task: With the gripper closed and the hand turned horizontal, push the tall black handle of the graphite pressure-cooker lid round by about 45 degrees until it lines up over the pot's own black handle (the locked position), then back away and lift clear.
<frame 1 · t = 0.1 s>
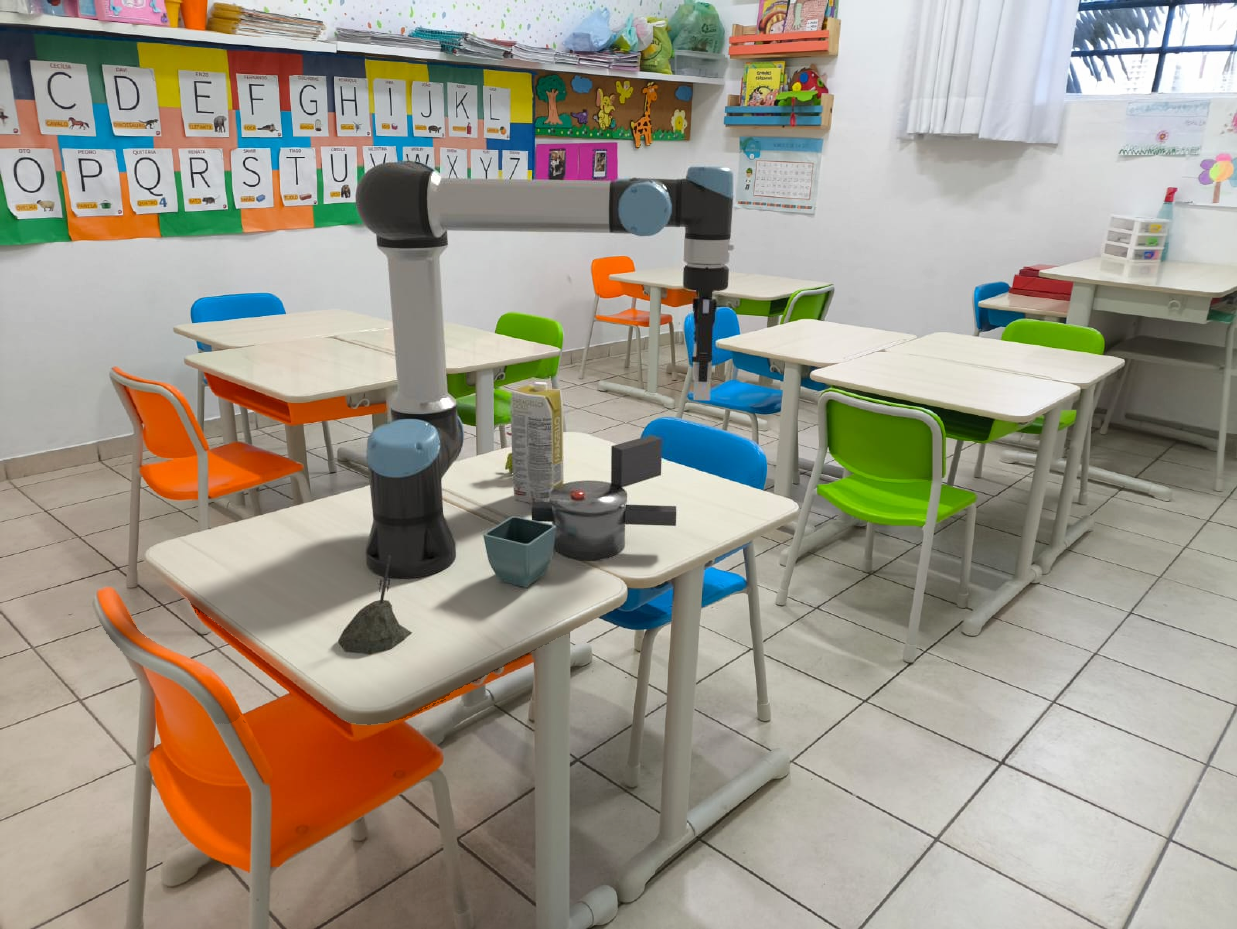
hand: (700, 389, 152), 28 cm above the table, tool pointing down, fingers open, 13 cm apart
pot: (588, 544, 157), on the table
juice carton: (538, 499, 177), on the table
bird rattle: (524, 474, 191), on the table
sword in stone: (376, 641, 127), on the table
flower pot: (521, 580, 145), on the table
lid: (609, 471, 156), point 13 cm above the table, hinge at 45.0°
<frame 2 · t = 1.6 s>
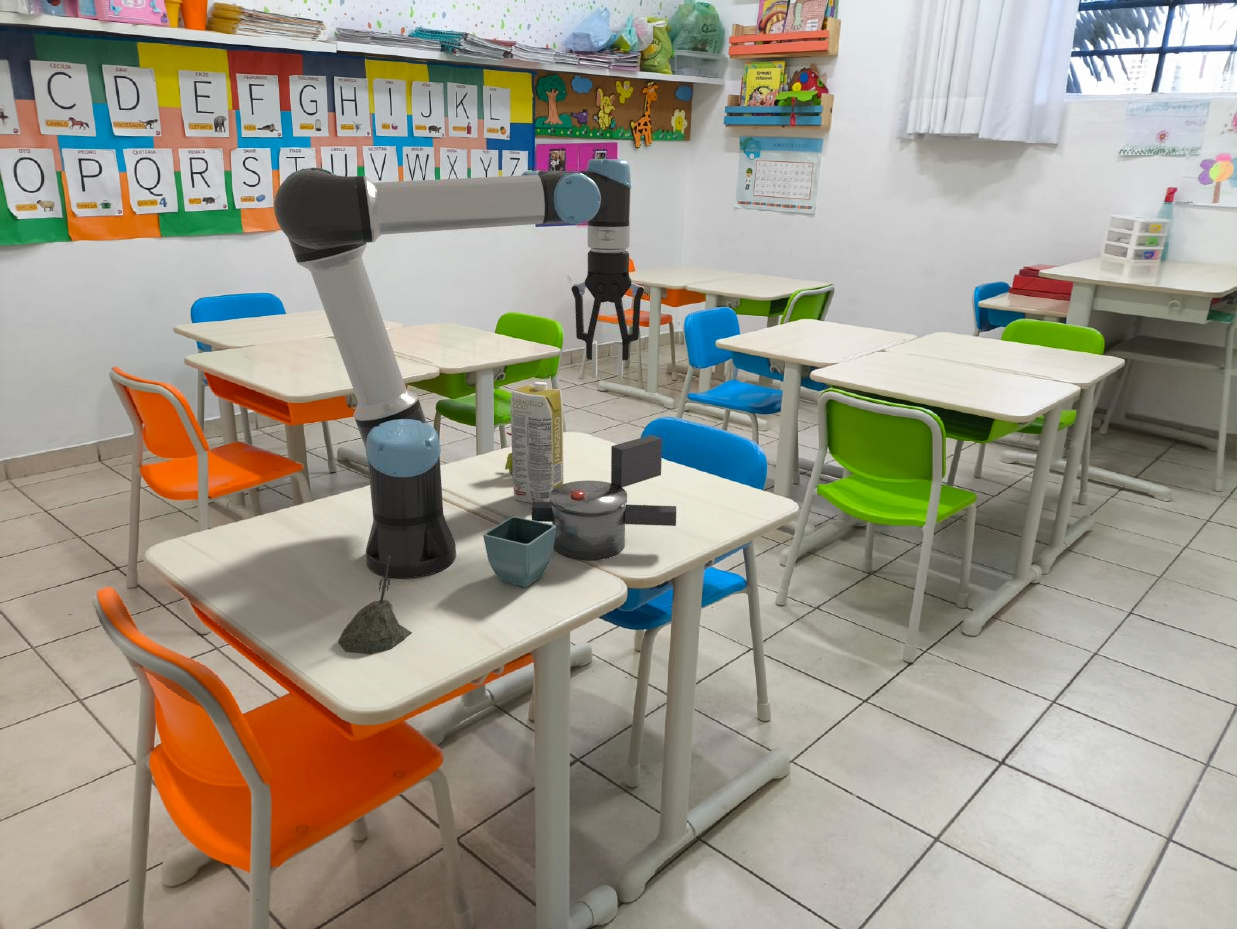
hand: (607, 376, 165), 27 cm above the table, tool pointing down, fingers open, 4 cm apart
nothing on the table moved.
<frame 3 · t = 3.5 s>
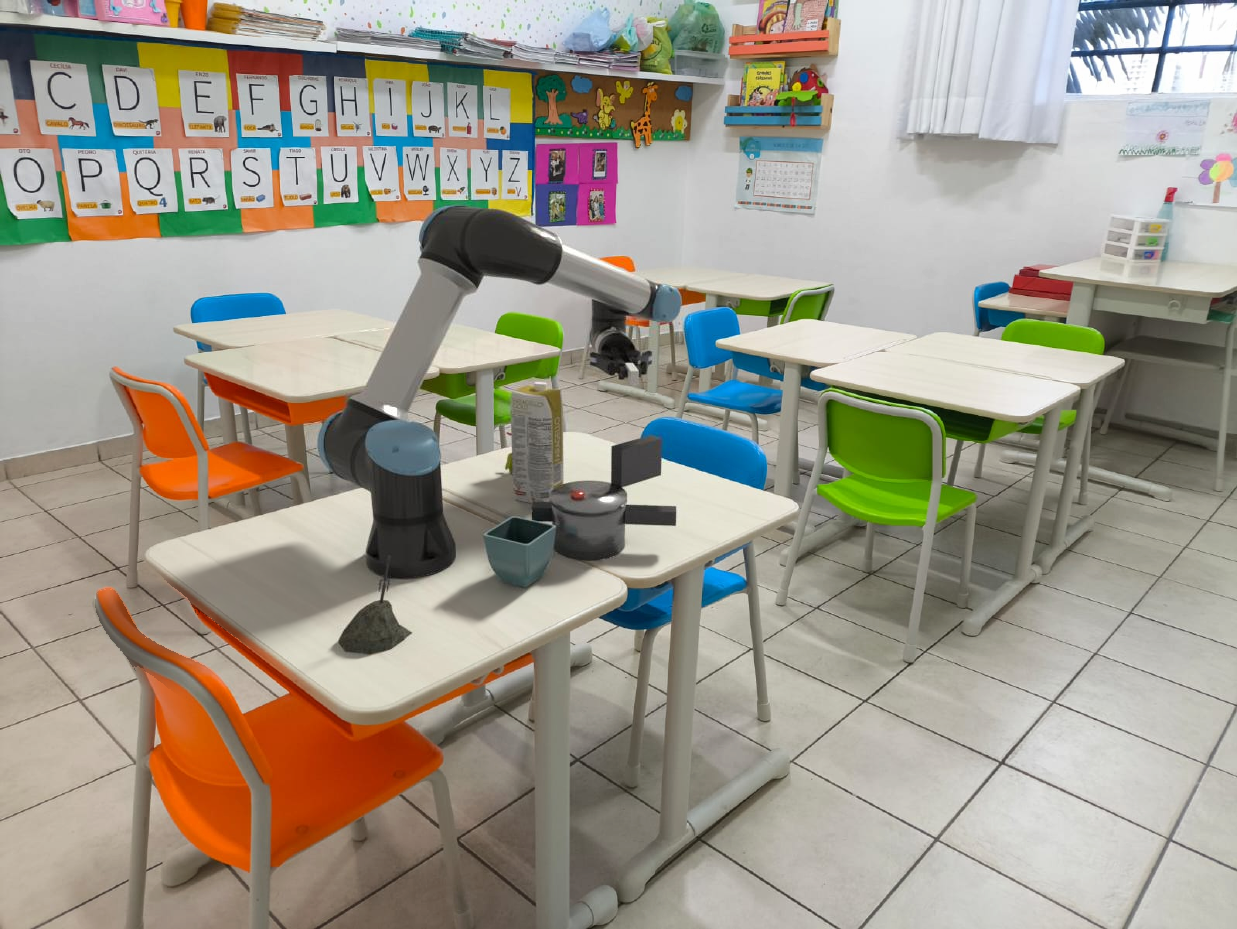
hand: (634, 378, 161), 27 cm above the table, tool horizontal, fingers closed
nothing on the table moved.
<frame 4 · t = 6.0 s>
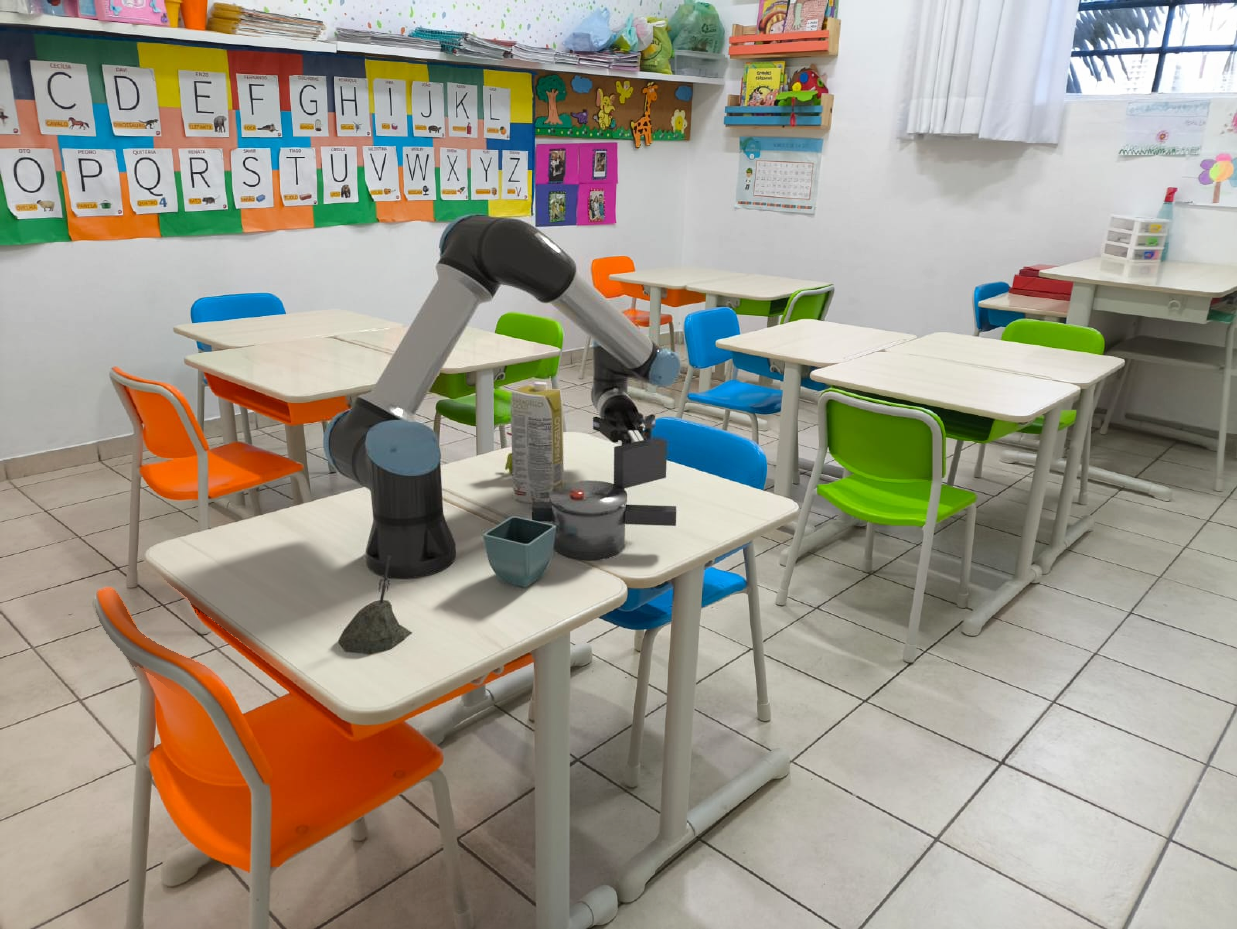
hand: (639, 448, 161), 15 cm above the table, tool horizontal, fingers closed
lid: (611, 472, 155), point 13 cm above the table, hinge at 39.6°, touching gripper
everything else where it was.
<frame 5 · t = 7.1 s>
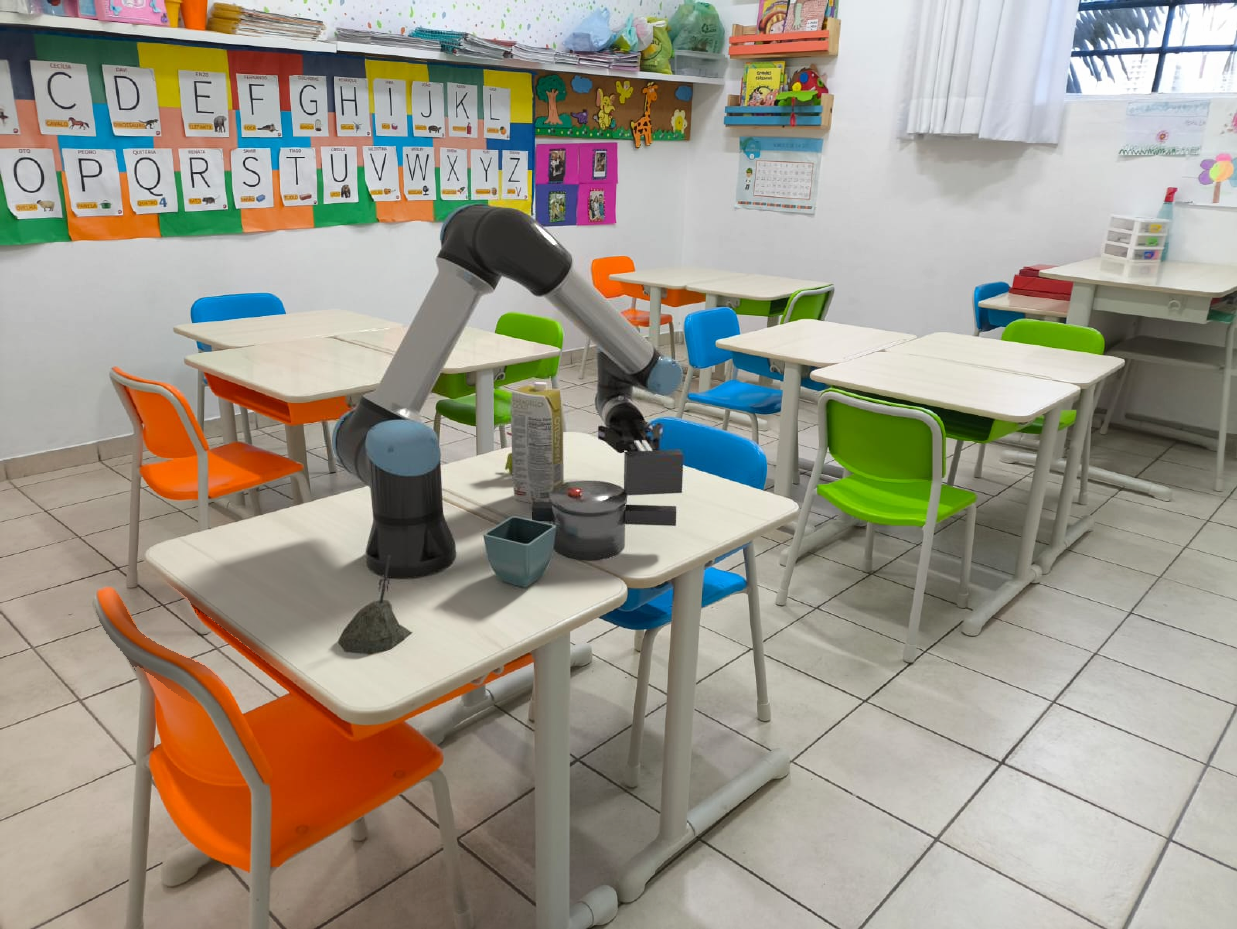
hand: (647, 459, 155), 15 cm above the table, tool horizontal, fingers closed
lid: (616, 476, 153), point 13 cm above the table, hinge at 11.8°, touching gripper
everything else where it was.
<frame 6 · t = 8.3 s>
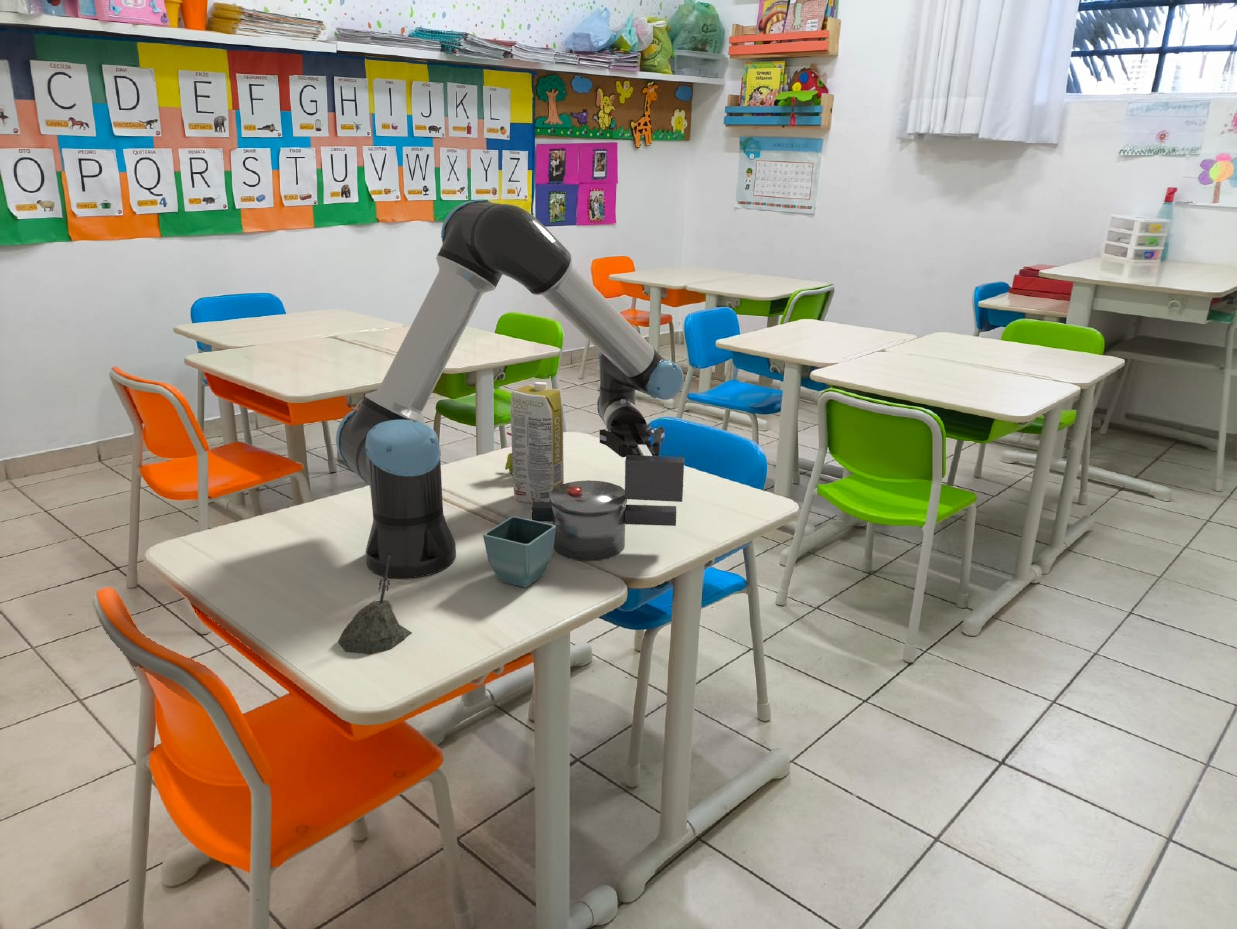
hand: (648, 463, 153), 15 cm above the table, tool horizontal, fingers closed
lid: (616, 479, 152), point 13 cm above the table, hinge at -2.6°, touching gripper
everything else where it was.
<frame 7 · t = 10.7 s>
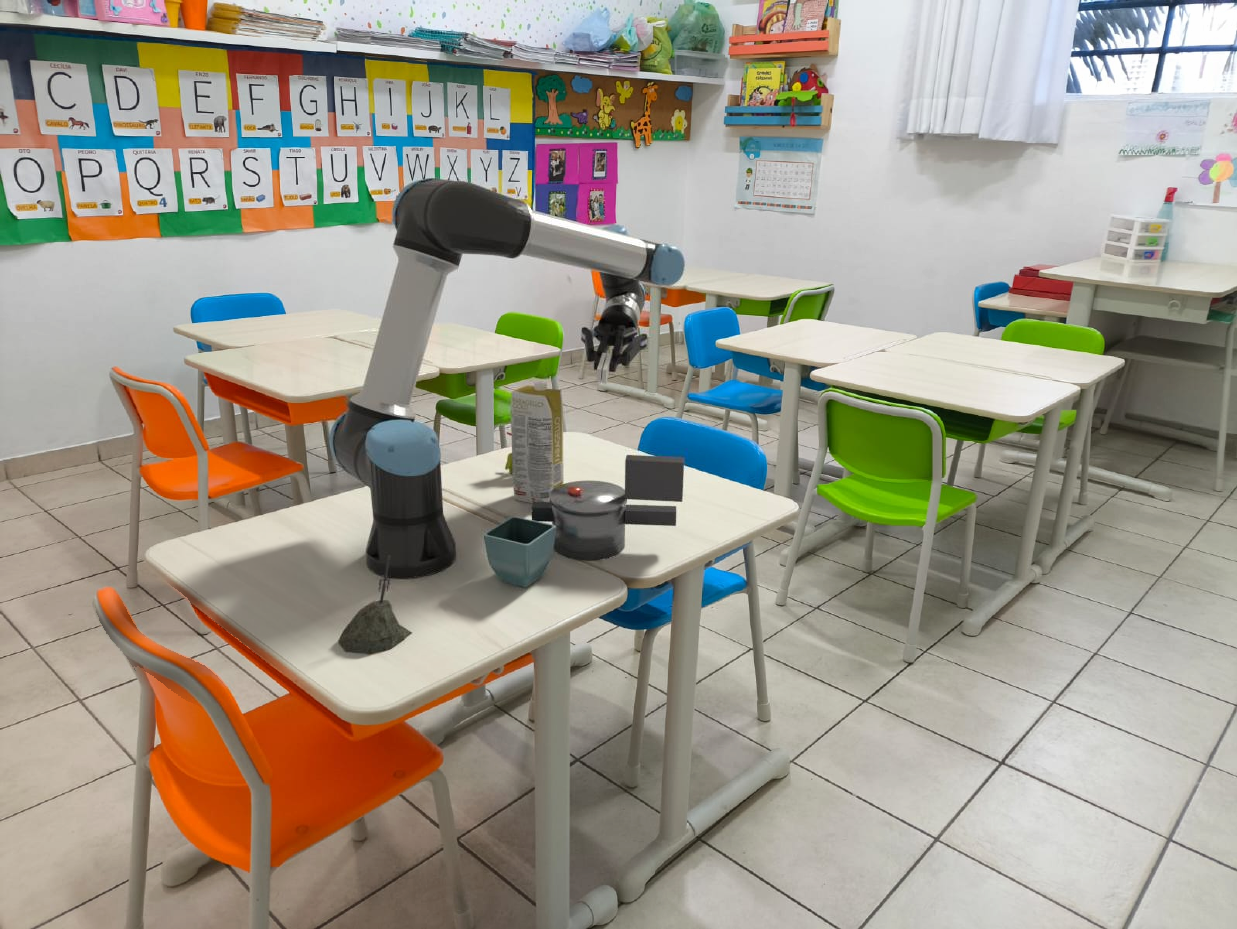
hand: (601, 376, 153), 30 cm above the table, tool horizontal, fingers closed
lid: (616, 479, 152), point 13 cm above the table, hinge at -2.6°
everything else where it was.
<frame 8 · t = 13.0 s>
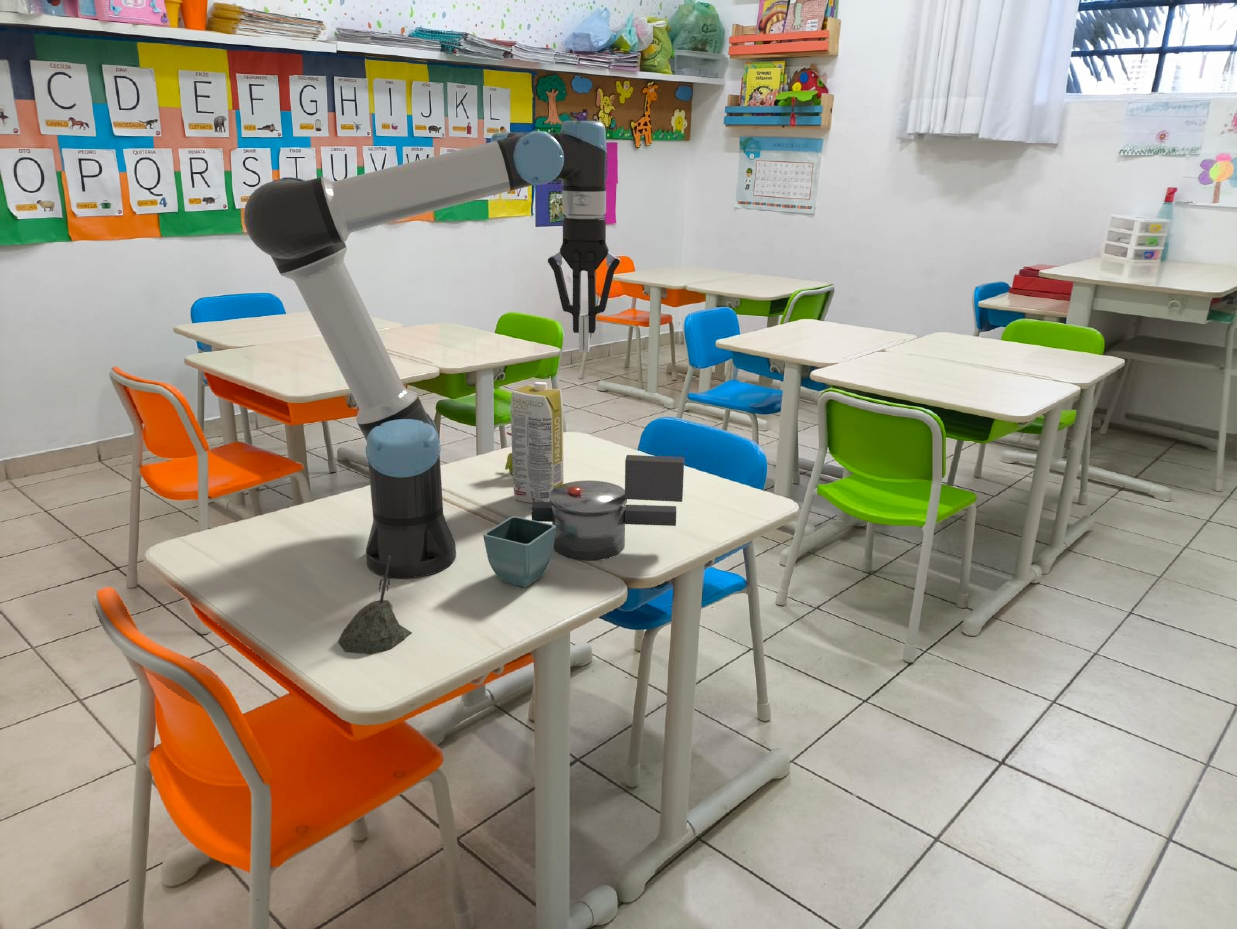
hand: (584, 350, 159), 32 cm above the table, tool pointing down, fingers closed
nothing on the table moved.
at the end: lid at -3° (first picture: +45°) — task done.
